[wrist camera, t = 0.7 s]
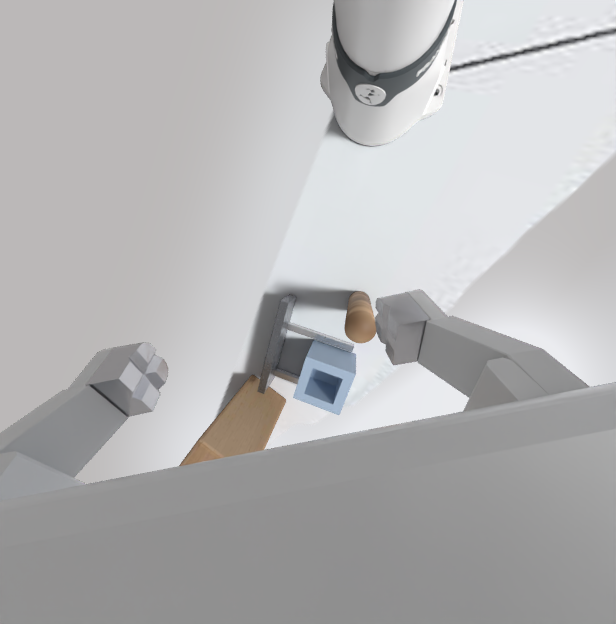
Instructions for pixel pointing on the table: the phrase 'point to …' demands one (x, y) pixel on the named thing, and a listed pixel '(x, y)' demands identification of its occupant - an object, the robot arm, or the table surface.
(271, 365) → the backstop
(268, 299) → the table surface
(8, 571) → the robot arm
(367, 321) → the dowel
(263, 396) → the wooden block
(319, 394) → the blue hollow square block
